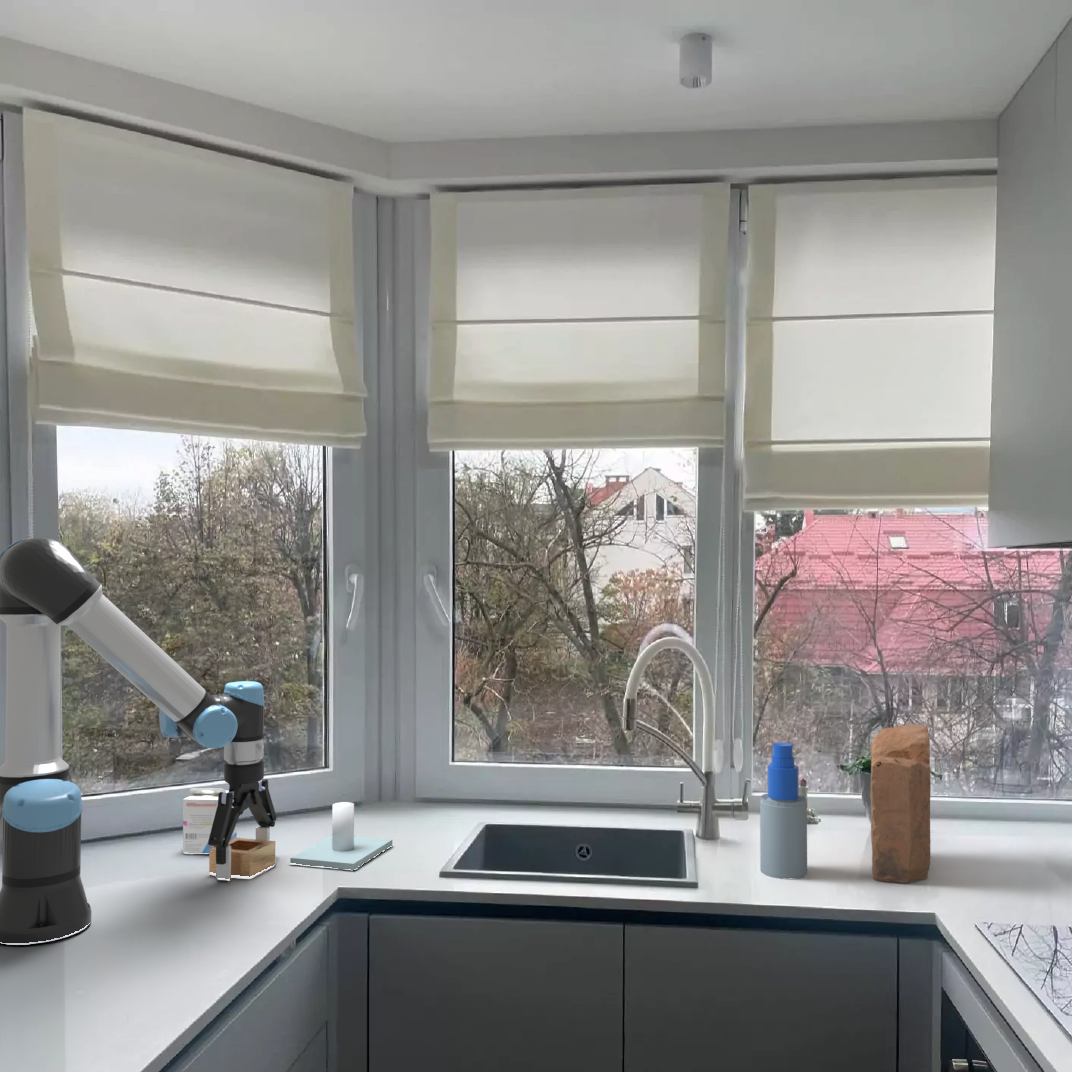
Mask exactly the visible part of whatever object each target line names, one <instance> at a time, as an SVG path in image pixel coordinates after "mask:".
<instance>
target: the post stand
mask: <svg viewBox="0 0 1072 1072" xmlns="http://www.w3.org/2000/svg"><path fill="white" fill-rule="evenodd" d="M331 813H332V814H331V815H332V816H331V817H332V821H331V822H332V823H331V827H332V828H331V835H330V836H328V837H326V838H324V839H322V840H321V841H319V842H317V843H315V844H313V845H311V846H310V847H307V848H306V849H304V850H302V851H300V852H299V853H296V854H294V855H293V856H291V857H290V858H289V861H290V862H289V864H290V863H296V864H302V865H310V866H324V867H332V868H338V869H351V870H354V869H356V868H358V866H361V865H362V864H363V863H365V862H367V861H368V860H369V859H372V858H373V857H374V856H376V855H377V854H379V853H381V852H382V851H383V850H386V849H387V848H388V847H390V846H392V847H393V839H391V838H389V839H388V838H377V837H366V836H363V837H362V836H355V803H353V802H349V801H342V802H341V801H340V802H335V803H333V804H332V812H331ZM386 851H387V850H386ZM372 860H373V859H372ZM361 867H362V866H361ZM358 869H359V868H358Z"/></svg>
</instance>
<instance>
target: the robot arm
mask: <svg viewBox="0 0 1072 1072" xmlns="http://www.w3.org/2000/svg"><path fill="white" fill-rule="evenodd" d="M0 620H1V621H2V622H3V623H4V624H5V626H6V643H5V645H6V648H5V649H6V655H5V657H6V660H5V662H6V666H5V667H6V668H5V672H6V674H5V676H6V679H5V681H6V682H5V691H6V692H5V761H4V763H3V764H2V765H1V766H0V837H1V840H2V855H1V856H2V858H1V859H2V862H1V863H2V864H1V868H2V869H1V872H2V873H1V888H0V942H2V943H29V942H38V941H46V940H51V939H54V938H60V937H63V936H65V935H69V934H71V933H74V932H75V931H79V930H80V929H82V928H84V927H85V926H86V925H88V924H89V923H90V922H91V923H92V907H91V904H90V903H89V902H88V899H87V895H86V892H85V891H86V890H85V888H84V885H83V881H82V877H81V866H82V865H81V864H82V863H81V862H82V859H81V856H82V852H81V851H82V812H83V806H84V804H83V803H84V802H83V800H82V792H81V791H82V790H81V789H80V787H79V786H78V785H77V784H75V783H73V782H72V781H70V774H69V773H70V771H69V770H70V764H68V763H67V762H66V761H65V760H64V759H62V757H61V756H60V755H61V754H60V750H61V749H60V748H61V747H60V745H61V744H60V743H61V742H60V740H61V739H60V738H61V734H60V733H61V626H66V627H68V628H69V629H71V630H72V631H73V632H74V633H75V634H76V635H77V636H79V638H81V640H82V641H84V642H85V643H86V644H87V645H88V646H90V648H92V649H93V650H94V651H95V652H96V653H97V654H98V655H99V656H100V657H102V658H103V659H104V660H105V661H106V662H107V663H108V664H110V666H112V667H113V668H114V669H115V670H116V671H117V672H118V673H119V674H121V675H122V676H123V677H124V678H125V679H126V680H127V681H129V682H130V683H131V684H132V685H133V686H134V687H135V688H136V689H137V690H139V691H140V692H141V694H143V695H144V697H146V698H147V699H148V700H149V701H150V702H152V703H153V704H154V705H155V706H156V707H157V708H158V709H159V713H158V714H159V715H158V716H159V717H158V722H159V728H160V733H161V735H162V736H163V737H164V738H167V739H170V738H176V739H180V738H183V737H184V738H185V737H187V738H189V739H191V740H192V741H195V742H196V743H198V744H199V745H200V746H201V747H203V748H206V749H220V748H223V760H224V761H226V762H225V763H224V765H223V766H224V767H223V768H224V769H223V780H224V782H225V783H227V784H228V785H229V786H228V787H229V788H228V791H229V792H220V793H219V795H218V806H217V810H216V813H215V817H214V821H213V825H212V829H211V833H210V836H209V840H208V845H211V846H215V847H216V878H225V879H229V878H231V846H228V844H229V841H230V839H231V836H232V834H233V831H234V829H235V826H236V827H237V824H238V821H239V818H240V817H241V816H242V815H243V813H244V812H245V811H246V810H247V809H249V811H250V812H251V814H252V816H253V818H254V820H255V822H256V824H257V825H258V826H256V827H255V839H257V840H268V841H270V838H271V837H270V835H271V834H270V832H271V831H270V827H271V828H274V827H275V825H276V820H277V815H276V810H275V807H274V803H273V799H272V796H271V793H270V789H269V780H268V778H267V779H266V778H264V777H265V763H264V761H263V760H262V759H263V758H264V753H265V751H264V749H265V745H264V737H265V735H264V734H265V733H264V732H265V731H264V730H265V729H264V728H265V726H264V725H265V706H266V705H265V695H264V694H265V693H264V687H263V684H262V683H260V682H257V681H251V680H250V681H249V680H248V681H244V680H242V681H233V682H228V683H226V684H225V685H224V690H223V693H219V694H210V693H209V692H208V691H206V689H205V688H204V687H203V686H202V685H200V684H199V683H198V681H196V680H195V679H194V678H193V677H192V676H191V675H190V673H188V672H187V671H186V670H185V669H183V668H182V666H180V665H179V664H178V663H177V662H176V661H175V660H174V659H173V658H172V657H171V656H170V655H168V654H167V652H165V651H164V650H163V649H162V648H161V647H160V646H159V645H158V644H157V643H156V642H154V641H153V640H152V639H151V638H150V637H149V636H148V635H147V634H146V633H145V632H144V631H143V630H142V629H140V627H138V626H137V625H136V624H135V623H134V622H133V621H132V620H131V619H130V618H129V617H128V616H127V615H126V614H125V613H124V612H123V611H122V610H120V609H119V608H118V607H117V606H116V605H115V604H114V603H113V602H112V601H111V600H109V599H108V598H107V596H105V595H104V594H103V584H102V583H101V582H99V581H98V579H97V578H95V576H93V575H92V573H91V572H90V571H89V570H88V569H86V567H85V566H84V565H83V564H82V563H81V562H80V560H79V559H78V558H77V557H76V555H75V554H73V552H72V551H71V550H70V549H69V547H67V546H65V545H64V544H62V543H61V542H60V541H57V540H55V539H52V538H48V537H33V538H31V537H30V538H23V539H20V540H17V541H14V542H13V543H11V544H10V545H8V546H7V547H6V548H4V550H3V551H1V553H0ZM225 804H226V805H225ZM232 806H233V807H234V808H232ZM216 878H215V879H216ZM231 879H232V878H231Z"/></svg>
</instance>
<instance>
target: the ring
mask: <svg viewBox="0 0 1072 1072" xmlns="http://www.w3.org/2000/svg"><path fill="white" fill-rule="evenodd" d="M228 846H231V875H240V876H249V877H250V876H252V875H255V874H256V873H258V872H261V871H262V870H264V869H267V868H268V867H270V866H273V865H274V864H275V865H276V840H269V841H268V840H257V839H256V838H243V837H236V838H234V839H232V840H230V841H229V844H228ZM208 856H209V861H208V864H209V865H208V866H209V867H208V870H209V871H208V873H209V872H213V873H216V847H214V848H212V849H210V850H209V855H208Z"/></svg>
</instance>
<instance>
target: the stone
mask: <svg viewBox="0 0 1072 1072" xmlns="http://www.w3.org/2000/svg"><path fill="white" fill-rule="evenodd" d="M930 744H931V743H930V734H929V727H928V726H927V725H926V724H920V723H918V724H915V723H908V724H900V725H897V726H894V727H885V728H882V729H881V730H880V731H879V732H878V733H877V734H876V735H875V737H874V738H873V740H872V741H871V743H870V753H871V754H870V755H871V756H870V757H871V760H870V761H871V763H870V764H871V765H870V794H869V796H870V797H869V798H870V820H871V821H870V822H871V824H870V835H871V838H870V839H871V853H872V854H871V856H872V857H871V858H872V860H871V864H872V866H871V867H872V870H871V871H872V877H873V879H874V880H876V881H879V882H894V883H902V884H903V883H908V884H909V883H912V882H916V881H922V880H926V879H928V876H929V871H930V865H931V791H932V790H931V787H932V786H931V782H932V781H931V777H932V776H931V774H932V773H931V749H930V748H931V745H930Z"/></svg>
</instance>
